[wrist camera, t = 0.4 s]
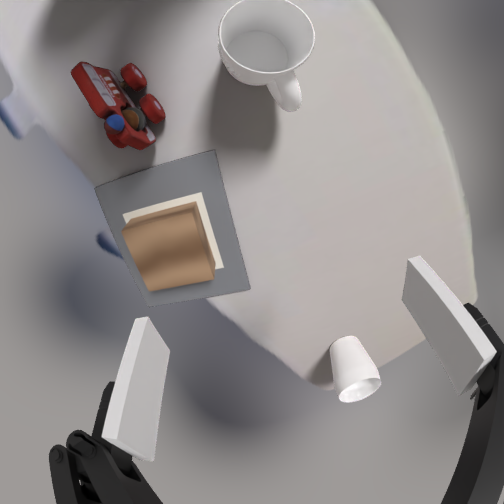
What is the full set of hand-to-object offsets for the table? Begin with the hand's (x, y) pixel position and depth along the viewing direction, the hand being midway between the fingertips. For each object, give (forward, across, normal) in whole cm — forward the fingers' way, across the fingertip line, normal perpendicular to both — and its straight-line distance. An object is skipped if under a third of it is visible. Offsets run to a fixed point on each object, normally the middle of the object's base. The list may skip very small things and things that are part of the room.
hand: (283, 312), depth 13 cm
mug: (+26, +4, +13) cm, 29 cm away
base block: (+25, -13, -6) cm, 29 cm away
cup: (+25, +11, -39) cm, 48 cm away
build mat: (+25, -13, -6) cm, 29 cm away
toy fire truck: (+26, -13, +14) cm, 32 cm away
